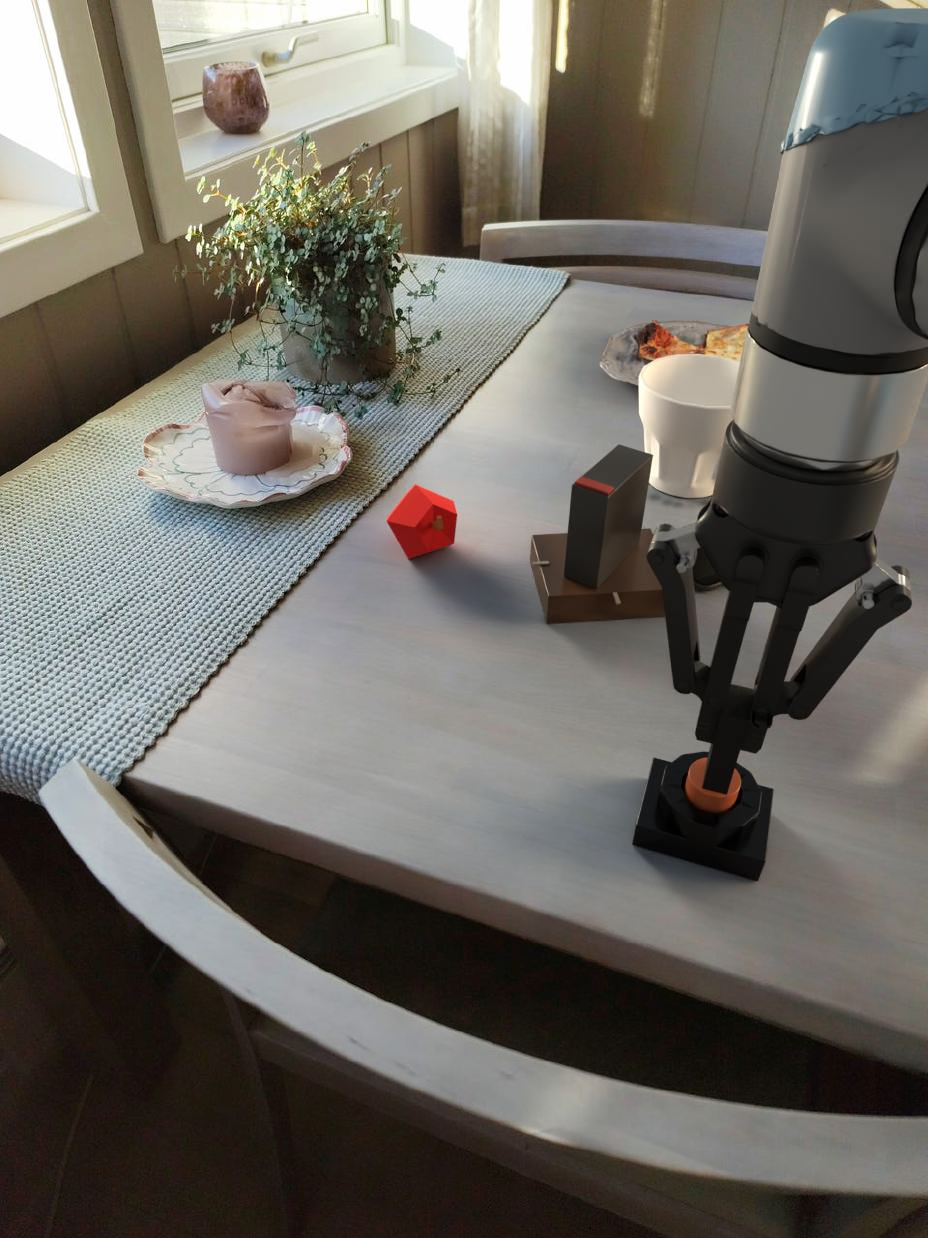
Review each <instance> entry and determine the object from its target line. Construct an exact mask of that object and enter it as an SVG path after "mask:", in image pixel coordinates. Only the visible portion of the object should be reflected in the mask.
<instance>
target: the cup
mask: <svg viewBox="0 0 928 1238" xmlns="http://www.w3.org/2000/svg"><path fill="white" fill-rule="evenodd" d="M739 365H740V362H737V361H734V360H731V359H727V358H724V357H718V356H711V355H703V354H678V355H672V356H667V357H662V358H658V359H656V360H654V361H652V362H650V363H649V364H647V365H645V366H644V367H643V369H642V371H641V373H640V375H639V386H638V415H639V418H640V420H641V423H642V426H643V441H644V443H643V444H644V452H646V453H649V454H652V455H653V460H652V466H651V472H650V478H649V484H650V485H651V486H652V487H653V488H655V489H656V490H657V491H660V492H662V493H664V494H667V495H669V496H674V497H678V498H682V499H683V498H684V499H702V498H707V497H710V496H711V497H712V494H713V490H714V485H715V480H716V475H717V471H718V466H719V461H720V456H721V451H722V447H723V442H724V437H725V432H726V429H727V426H728V425H729V423H730V422H731V421H732V420H733V418H732V416H731V403H732V398H733V393H734V389H735V384H736V379H737V374H738V369H739Z"/></svg>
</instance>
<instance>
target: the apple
mask: <svg viewBox="0 0 928 1238" xmlns="http://www.w3.org/2000/svg"><path fill="white" fill-rule="evenodd" d="M398 502H399V503H398V504H396V506H395V507H394V508H393V510H392V511H391V512H390V514H388V516H387V518H386V523H387V524H388V527H389V528H390V530H391V531H392V534H393V535H394V537H395V539H396V540H397V542H398V544H399V546H400V548H401V550H402V551H403V552H404V554H405V556H406V558H407V560H409V559H412V558H416V557H420V556H423V555H426V554H429V553H432V552H435V551H438V550H441V549H444V548H445V549H446V548H448V547H450V546H452V545H454V544H455V541H456V531H457V521H458V512H457V508H456V505H455V501H454V500H452V499H450V498H447V497H445V496H443V495H441V494H438V493H436V492H434V491H431V490H429V489H427V488H425V487H422V486H420V485H418V484H414V485H413V486H412V487H411V488H410V489H409V490H408V491H407V492H406V493H405V495H404V496H403V497H402V498H401V499H400V501H398Z"/></svg>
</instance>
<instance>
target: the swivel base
mask: <svg viewBox="0 0 928 1238" xmlns="http://www.w3.org/2000/svg"><path fill="white" fill-rule="evenodd" d="M567 533H568V532H559V533H544V534H542V533H541V534H531V539H530V556H529V563H530V567H531V571H532V575H533V579H534V582H535V586H536V590H537V595H538V597H539V601H540V605H541V609H542V612H543V617H544V620H545V623H546V625H550V624H564V623H565V624H566V623H580V622H581V623H582V622H597V621H613V620H627V619H629V620H630V619H643V618H658V617H659V618H661V617H665V611H664V602H663V594H662V586H661V585H660V583H659V581H658V579H657V578H656V576H655V574H654V572H653V570H652V569H651V567H650V565H649V563H648V561H647V553H648V550H649V547H650V544H651V541H652V538H653V535H654V532H653V531H652V529H651V528H650V527H649V528H642V529H641V535H640V542H639V545H638V546H637V547H636V548H635V549H634V550H633V551H632V552H631V553H630V554H629V555H628V557H627V558H626V559H625V560H624V561H623V562H622V563H621V564H620V565H619V566H618V567H617V568H616V569H615V570H614V571H613V572H612V574H611V575H610V576H609V577H608V578H607V579H606V580H605V581H604V582H603V583H602V584H601V585H600V586H599V587H598V588H597V589H594V588H592V587H589V586H587V585H584V584H582V583H579V582H577V581H574V580H572V579H569V578H567V577H564V566H565V555H566V544H567Z"/></svg>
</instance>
